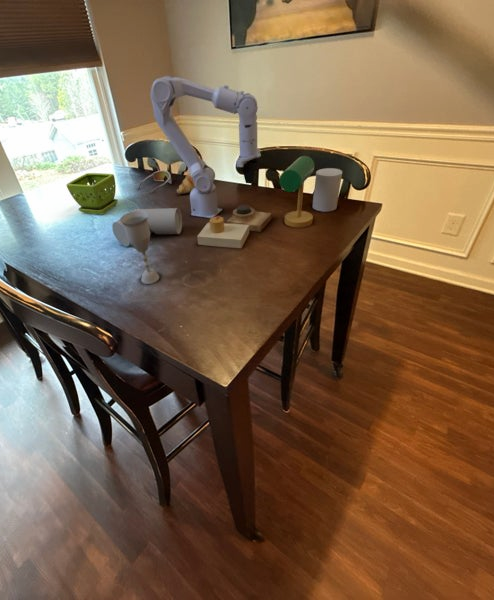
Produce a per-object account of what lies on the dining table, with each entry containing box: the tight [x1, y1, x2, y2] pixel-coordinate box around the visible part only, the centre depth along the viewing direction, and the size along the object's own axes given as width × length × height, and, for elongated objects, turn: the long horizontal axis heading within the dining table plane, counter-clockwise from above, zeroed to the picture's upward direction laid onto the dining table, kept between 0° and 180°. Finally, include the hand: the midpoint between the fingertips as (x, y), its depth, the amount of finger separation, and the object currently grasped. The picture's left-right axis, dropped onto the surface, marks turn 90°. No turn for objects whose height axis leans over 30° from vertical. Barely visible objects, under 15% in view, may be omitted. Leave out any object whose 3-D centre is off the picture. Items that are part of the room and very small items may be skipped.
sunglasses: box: [137, 170, 173, 193], centre depth 146 cm, size 14×15×5 cm
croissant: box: [176, 173, 195, 195], centre depth 138 cm, size 21×10×8 cm, turn 140°
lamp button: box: [236, 204, 251, 215], centre depth 105 cm, size 4×4×2 cm
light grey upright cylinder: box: [311, 167, 343, 213], centre depth 107 cm, size 8×8×12 cm
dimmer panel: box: [196, 221, 250, 249], centre depth 99 cm, size 14×10×3 cm
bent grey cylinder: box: [111, 207, 183, 247], centre depth 104 cm, size 18×11×20 cm
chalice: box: [119, 211, 160, 285], centre depth 81 cm, size 7×7×18 cm
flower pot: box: [65, 172, 119, 215], centre depth 127 cm, size 14×14×13 cm
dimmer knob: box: [209, 215, 225, 233], centre depth 97 cm, size 4×4×4 cm
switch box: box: [226, 207, 272, 232], centre depth 105 cm, size 12×10×4 cm
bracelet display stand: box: [278, 155, 315, 228], centre depth 98 cm, size 9×14×19 cm, turn 150°
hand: (249, 182), depth 108 cm, fingers closed
